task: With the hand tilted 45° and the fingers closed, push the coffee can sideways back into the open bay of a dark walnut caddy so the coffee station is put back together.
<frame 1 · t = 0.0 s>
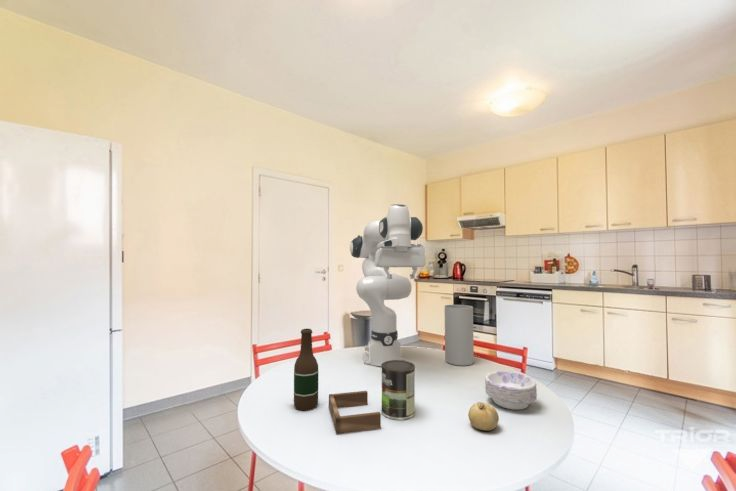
hand: (401, 278, 128), 39 cm above the table, tool pointing down, fingers open, 8 cm apart
beer bottle: (305, 406, 104), on the table
paper bowls: (510, 404, 105), on the table
coffee can: (398, 412, 99), on the table
cylinder vase: (459, 362, 148), on the table
onion: (483, 428, 90), on the table
caddy: (356, 416, 96), on the table
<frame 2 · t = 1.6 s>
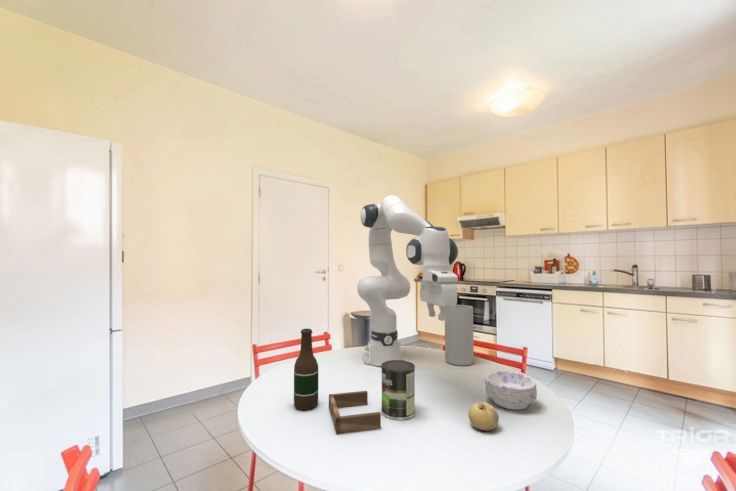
hand: (436, 318, 106), 27 cm above the table, tool pointing down, fingers open, 6 cm apart
nothing on the table moved.
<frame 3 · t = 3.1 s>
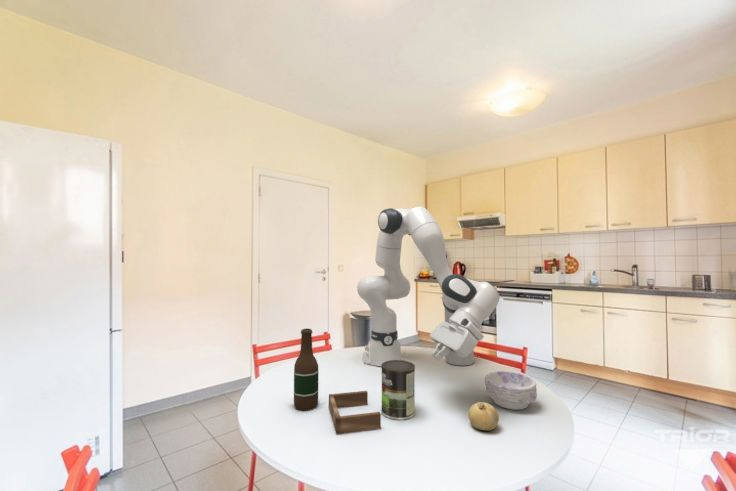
hand: (435, 357, 103), 15 cm above the table, tool tilted 45°, fingers closed
nothing on the table moved.
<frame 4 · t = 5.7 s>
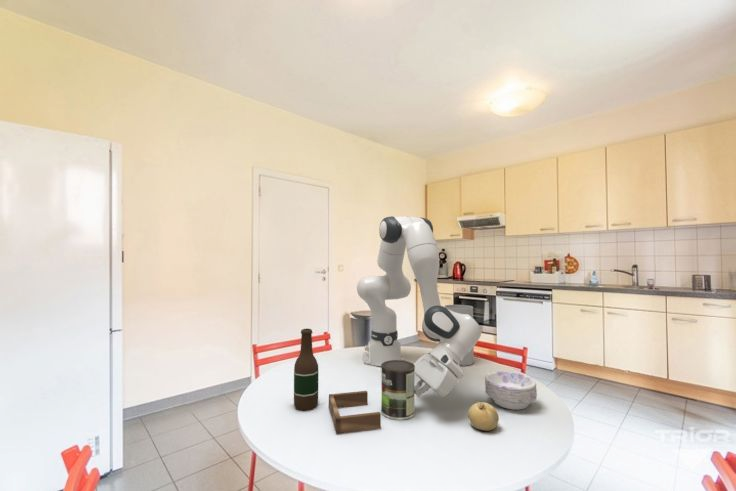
hand: (415, 394, 101), 5 cm above the table, tool tilted 45°, fingers closed, pressing on coffee can
coffee can: (398, 412, 99), on the table, touching gripper
everything else where it was.
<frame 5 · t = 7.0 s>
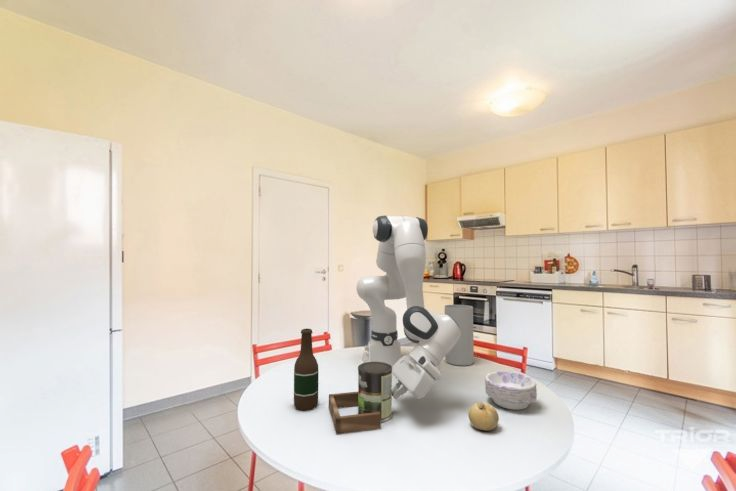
hand: (392, 396, 99), 5 cm above the table, tool tilted 45°, fingers closed, pressing on coffee can
coffee can: (375, 415, 98), on the table, touching gripper
everything else where it was.
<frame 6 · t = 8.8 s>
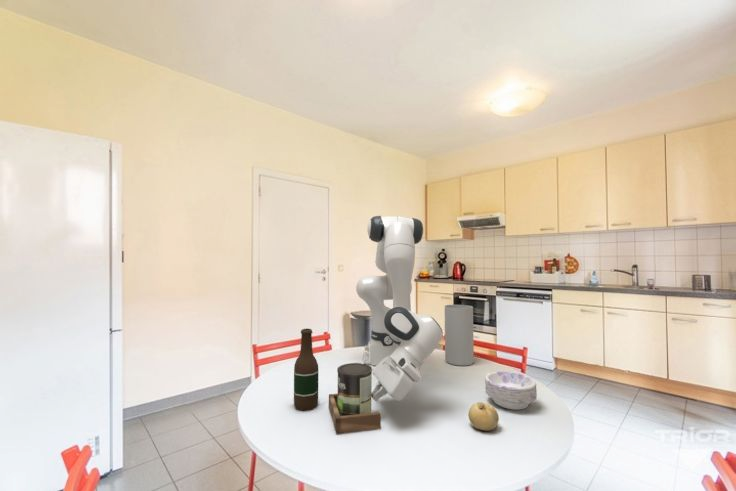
hand: (373, 398, 98), 5 cm above the table, tool tilted 45°, fingers closed, pressing on coffee can
coffee can: (354, 417, 96), on the table, touching gripper
everything else where it was.
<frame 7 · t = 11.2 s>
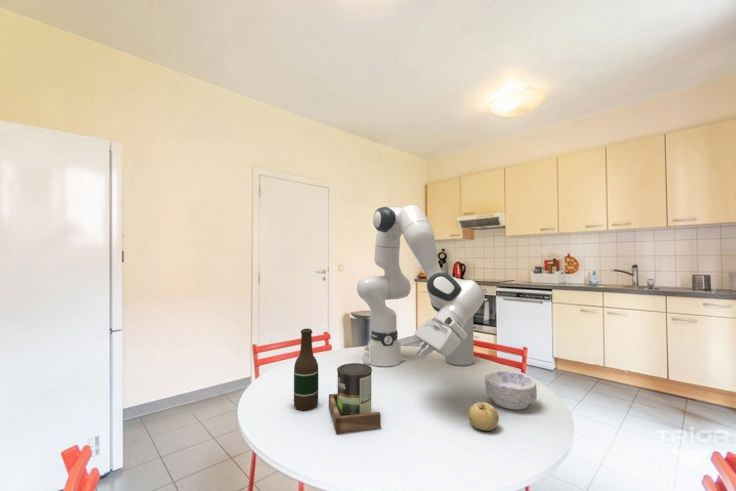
hand: (418, 356, 102), 16 cm above the table, tool tilted 45°, fingers closed
coffee can: (354, 417, 96), on the table
everything else where it was.
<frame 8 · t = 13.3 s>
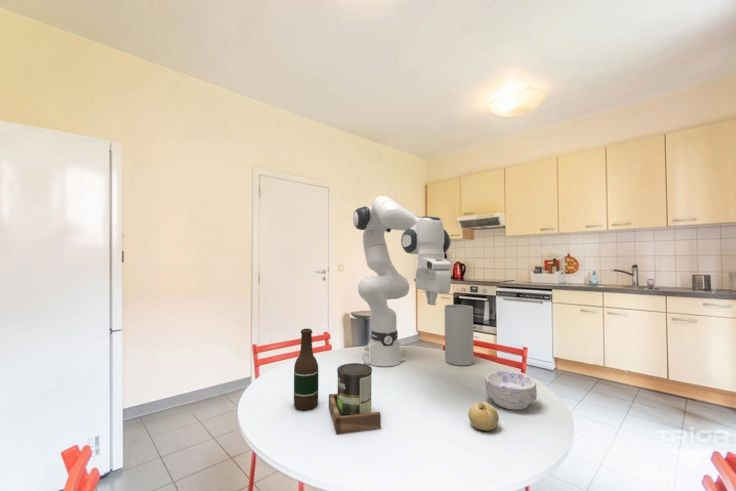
hand: (431, 304, 110), 31 cm above the table, tool pointing down, fingers closed
nothing on the table moved.
at the end: coffee can inside the target area (0.5 cm from its centre), on the table; coffee can tilted 0° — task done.
